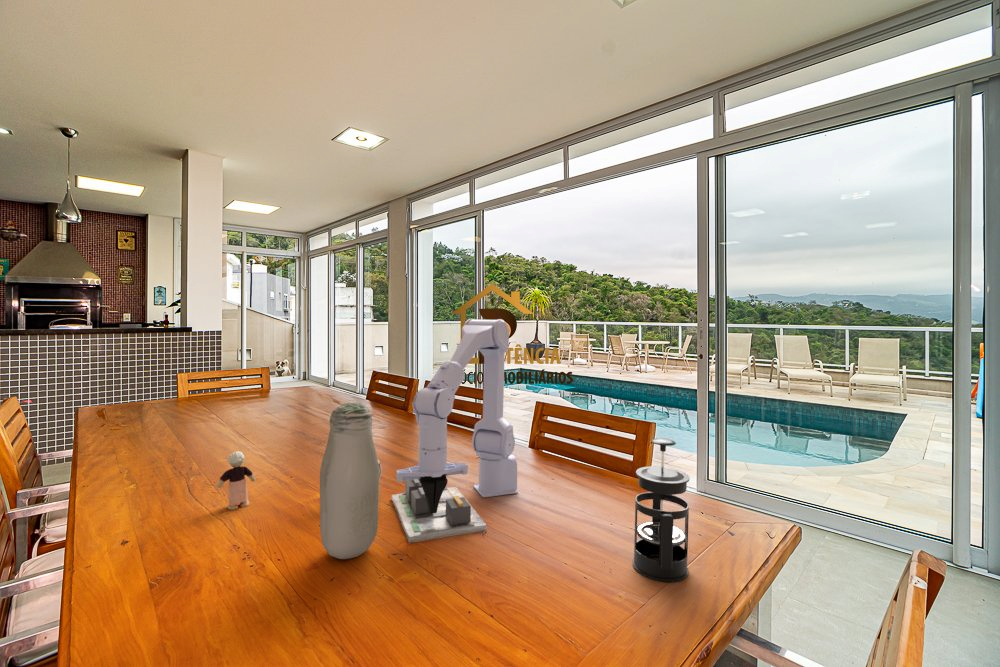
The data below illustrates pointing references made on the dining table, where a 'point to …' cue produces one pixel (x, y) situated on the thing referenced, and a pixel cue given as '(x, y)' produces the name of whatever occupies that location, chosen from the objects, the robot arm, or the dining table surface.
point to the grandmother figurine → (236, 481)
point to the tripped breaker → (458, 510)
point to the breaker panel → (434, 519)
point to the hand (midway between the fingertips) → (432, 511)
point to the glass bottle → (349, 483)
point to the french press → (661, 522)
